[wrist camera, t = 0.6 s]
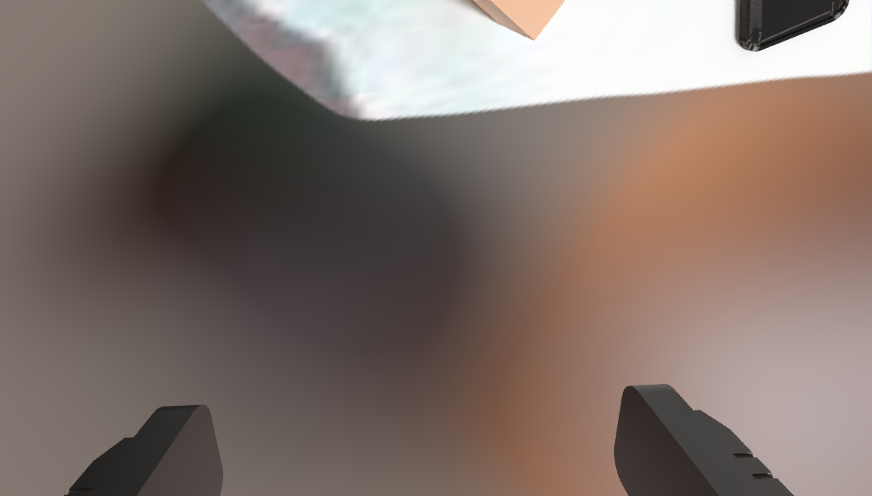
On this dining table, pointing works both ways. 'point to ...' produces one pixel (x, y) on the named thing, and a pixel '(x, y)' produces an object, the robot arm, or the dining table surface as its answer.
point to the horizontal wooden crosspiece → (521, 14)
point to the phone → (783, 19)
